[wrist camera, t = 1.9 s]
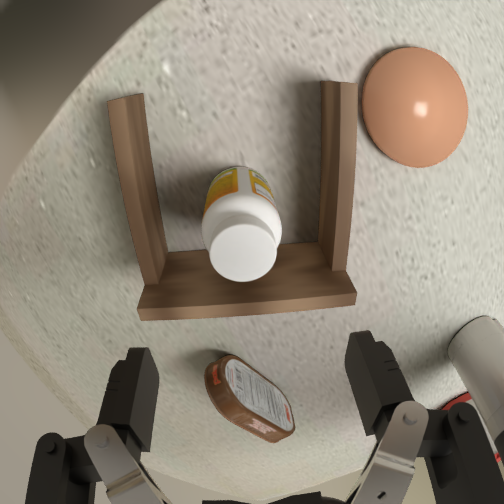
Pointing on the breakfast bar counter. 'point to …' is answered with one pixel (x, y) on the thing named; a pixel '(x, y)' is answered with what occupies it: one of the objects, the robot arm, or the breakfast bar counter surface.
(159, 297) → the cubby
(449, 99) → the coaster
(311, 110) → the breakfast bar counter surface
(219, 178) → the supplement bottle
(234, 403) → the tin
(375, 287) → the breakfast bar counter surface
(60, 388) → the breakfast bar counter surface
